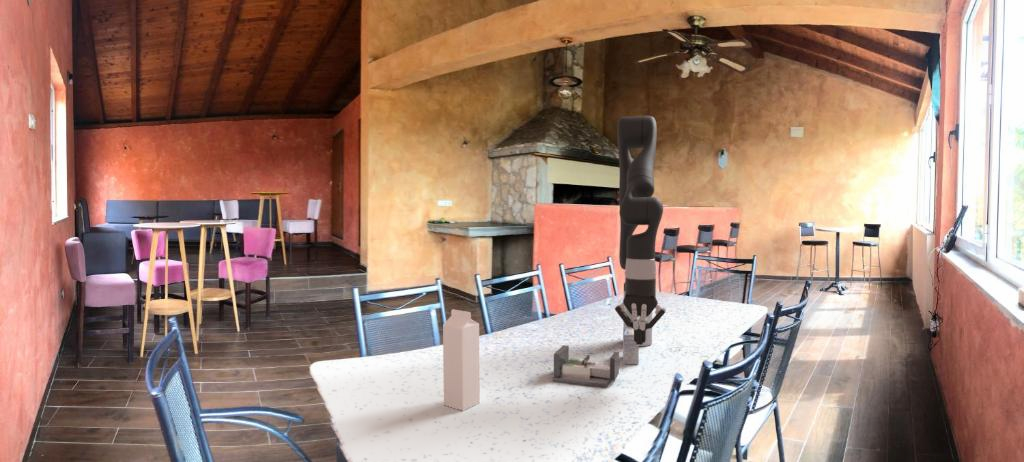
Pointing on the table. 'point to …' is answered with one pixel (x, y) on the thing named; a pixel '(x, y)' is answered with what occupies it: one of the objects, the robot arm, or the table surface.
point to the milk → (461, 361)
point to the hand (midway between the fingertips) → (639, 343)
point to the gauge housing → (575, 370)
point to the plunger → (604, 367)
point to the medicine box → (630, 348)
